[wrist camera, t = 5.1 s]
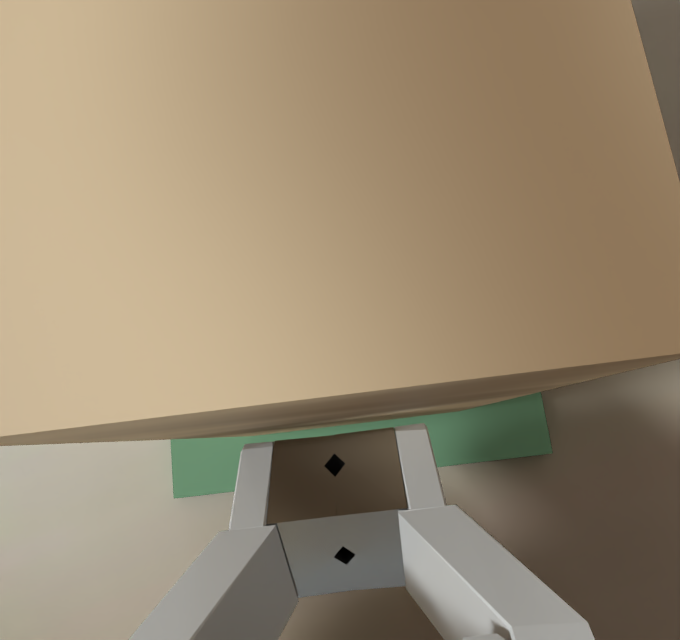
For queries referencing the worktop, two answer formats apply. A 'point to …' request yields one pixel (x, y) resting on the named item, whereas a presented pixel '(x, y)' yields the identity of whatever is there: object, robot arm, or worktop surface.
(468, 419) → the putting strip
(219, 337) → the mallet block
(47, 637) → the worktop surface
